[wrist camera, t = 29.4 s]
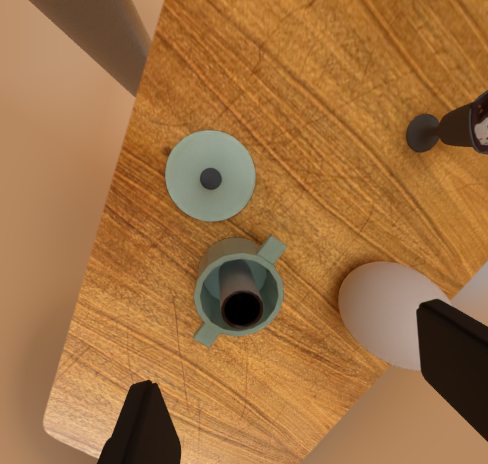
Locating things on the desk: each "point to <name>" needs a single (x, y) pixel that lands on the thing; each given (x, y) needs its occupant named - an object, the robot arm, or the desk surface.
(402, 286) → the decorative egg
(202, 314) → the pot
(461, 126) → the sundae
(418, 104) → the desk surface
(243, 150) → the lid
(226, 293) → the grey tube
